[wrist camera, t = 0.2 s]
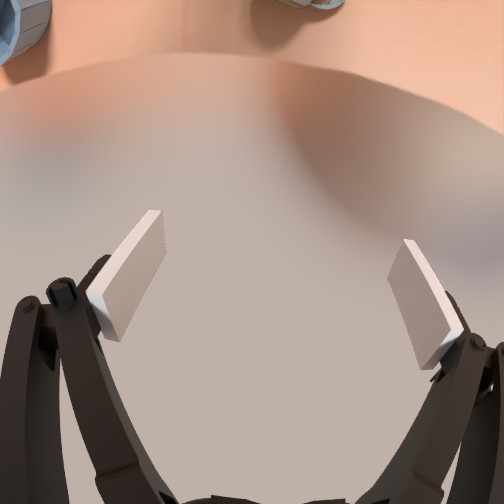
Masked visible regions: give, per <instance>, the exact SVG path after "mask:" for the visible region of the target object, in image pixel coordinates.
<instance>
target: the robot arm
mask: <svg viewBox="0 0 504 504" xmlns="http://www.w3.org/2000/svg"><path fill="white" fill-rule="evenodd" d="M165 255H166V247H165V237H164V228H163V215H162V211H159V210H148V212H147V213H146V214H145V215H144V216H143V217H142V219H141V220H140V221H139V222H138V223H137V225H136V226H135V227H134V228H133V229H132V231H131V232H130V233H129V234H128V236H127V237H126V238H125V239H124V241H123V242H122V243H121V244H120V246H119V247H118V248H117V250H116V251H115V252H114V253H113V255H107V254H106V255H104V256H103V257H102V258H100V259H98V260H97V261H96V263H95V264H94V265H93V266H92V269H90V270H89V272H88V274H87V275H86V276H85V277H84V278H83V280H82V281H81V282H80V284H79V285H78V286H77V287H76V285H75V283H74V280H73V279H71V278H67V277H63V278H59V279H57V280H55V281H53V282H52V283H51V284H50V285H49V286H48V288H47V290H46V295H47V297H48V299H49V301H50V303H51V304H41V303H40V301H39V299H38V298H37V297H35V296H28V297H25V298H23V299H22V300H21V301H20V302H19V303H18V304H17V306H16V308H15V312H14V315H13V319H12V323H11V327H10V331H9V335H8V339H7V344H6V349H5V354H4V359H3V365H2V371H1V377H0V504H69V496H68V489H67V484H66V478H65V471H64V463H63V455H62V446H61V434H60V414H59V413H60V412H59V379H60V378H59V377H60V357H61V362H62V367H63V371H64V376H65V380H66V384H67V388H68V392H69V396H70V400H71V403H72V406H73V410H74V413H75V417H76V419H77V423H78V425H79V429H80V432H81V435H82V438H83V440H84V443H85V446H86V448H87V451H88V453H89V456H90V458H91V461H92V463H93V466H94V468H95V471H96V477H95V482H96V486H97V489H98V491H99V493H100V495H101V497H102V499H103V501H104V503H105V504H179V503H178V501H177V500H176V498H175V497H174V495H173V494H172V492H171V491H170V489H169V488H168V486H167V485H166V483H164V481H163V480H162V478H161V477H160V475H159V474H158V472H157V471H156V469H155V467H154V465H153V464H152V462H151V460H150V458H149V456H148V455H147V453H146V451H145V449H144V447H143V445H142V443H141V441H140V439H139V437H138V435H137V433H136V431H135V429H134V427H133V425H132V423H131V421H130V419H129V416H128V414H127V412H126V410H125V408H124V405H123V403H122V401H121V398H120V396H119V394H118V391H117V388H116V386H115V383H114V381H113V378H112V376H111V373H110V370H109V367H108V365H107V362H106V359H105V356H104V354H103V350H102V347H101V344H100V341H99V339H98V337H97V336H98V335H99V333H100V331H102V333H103V335H104V337H105V339H109V340H113V341H117V342H120V341H121V339H122V337H123V335H124V333H125V331H126V328H127V327H128V324H129V322H130V320H131V318H132V316H133V315H134V312H135V310H136V309H137V307H138V305H139V303H140V301H141V299H142V297H143V295H144V293H145V291H146V289H147V288H148V285H149V284H150V282H151V280H152V278H153V276H154V275H155V272H156V271H157V269H158V267H159V265H160V264H161V262H162V260H163V258H164V256H165ZM388 281H389V283H390V286H391V288H392V291H393V293H394V295H395V298H396V301H397V303H398V306H399V309H400V311H401V314H402V316H403V319H404V322H405V325H406V328H407V331H408V333H409V336H410V339H411V342H412V345H413V348H414V351H415V355H416V358H417V361H418V365H419V368H420V370H428V369H433V368H434V367H435V366H436V365H437V364H438V362H439V361H440V364H441V367H442V368H441V369H440V370H439V371H438V372H437V373H436V374H435V375H434V376H433V378H432V379H431V380H430V382H432V381H433V380H434V379H435V380H434V382H433V384H432V386H431V389H430V391H429V393H428V395H427V398H426V400H425V401H424V404H423V406H422V408H421V410H420V411H419V413H418V416H417V417H416V419H415V421H414V423H413V425H412V426H411V428H410V430H409V432H408V434H407V435H406V437H405V439H404V440H403V442H402V444H401V445H400V447H399V449H398V450H397V452H396V454H395V455H394V457H393V458H392V460H391V461H390V463H389V464H388V466H387V467H386V469H385V470H384V472H383V473H382V475H381V476H380V477H379V479H378V480H377V481H376V483H375V484H374V486H373V487H372V488H371V489H370V490H368V492H366V493H365V494H364V495H363V496H361V497H360V498H359V499H358V500H357V502H356V503H355V504H440V503H441V502H442V499H443V497H444V491H443V490H442V489H441V485H442V483H443V481H444V479H445V477H446V475H447V473H448V471H449V468H450V466H451V464H452V462H453V460H454V457H455V455H456V452H457V450H458V448H459V446H460V443H461V447H460V452H459V458H458V462H457V467H456V471H455V475H454V479H453V483H452V486H451V490H450V493H449V497H448V500H447V503H446V504H504V342H501V343H500V344H499V345H498V346H497V347H496V348H495V349H494V348H490V347H487V346H486V343H485V341H484V340H483V338H482V337H480V336H479V335H478V334H475V333H471V331H470V329H469V327H468V325H467V323H466V321H465V319H464V317H463V315H462V314H461V313H460V309H459V307H457V304H456V302H455V300H454V298H453V297H452V296H451V295H450V294H449V293H448V292H447V291H444V290H443V288H442V286H441V284H440V282H439V281H438V279H437V277H436V275H435V274H434V272H433V270H432V269H431V267H430V265H429V264H428V262H427V260H426V259H425V257H424V256H423V254H422V253H421V251H420V249H419V248H418V246H417V245H416V243H415V242H414V241H413V240H407V239H403V240H402V243H401V245H400V248H399V250H398V253H397V255H396V258H395V261H394V263H393V265H392V268H391V270H390V273H389V275H388ZM492 384H493V390H492V391H491V386H492ZM183 504H259V503H256V502H253V501H249V500H246V499H238V498H230V497H222V496H215V495H211V498H203V499H196V500H192V501H189V502H186V503H183ZM304 504H349V503H345V499H334V500H320V501H312V502H308V503H304Z"/></svg>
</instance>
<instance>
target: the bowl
mask: <svg viewBox="0 0 504 504" xmlns="http://www.w3.org/2000/svg"><path fill="white" fill-rule="evenodd" d="M51 11H52V0H0V66H2V65H3V64H5V63H7V62H8V61H10V60H12V59H13V58H15V57H17V56H18V55H20V54H22V53H24V52H25V51H27V50H28V49H29V48H31V47H32V46H34V45H35V44H36V43H37V42H38V41H39V40H40V39H41V37H42V36H43V34H44V32H45V31H46V29H47V26H48V24H49V21H50V17H51Z"/></svg>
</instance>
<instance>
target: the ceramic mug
mask: <svg viewBox="0 0 504 504" xmlns="http://www.w3.org/2000/svg"><path fill="white" fill-rule="evenodd" d="M277 1H280V2H282V3H285V4H287V5H289V6H292V7H295V8H298V9H299V8H304V7H305V6H307V5H308V4H309V5H311V6H313V7H315V8H318V9H324V10H328V9H333V8H336V7H338V6H339V5H341V4H342V3H343V2H344V1H345V0H330V1H329V3H326V4H316V3H312V2H311V1H312V0H277Z"/></svg>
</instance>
